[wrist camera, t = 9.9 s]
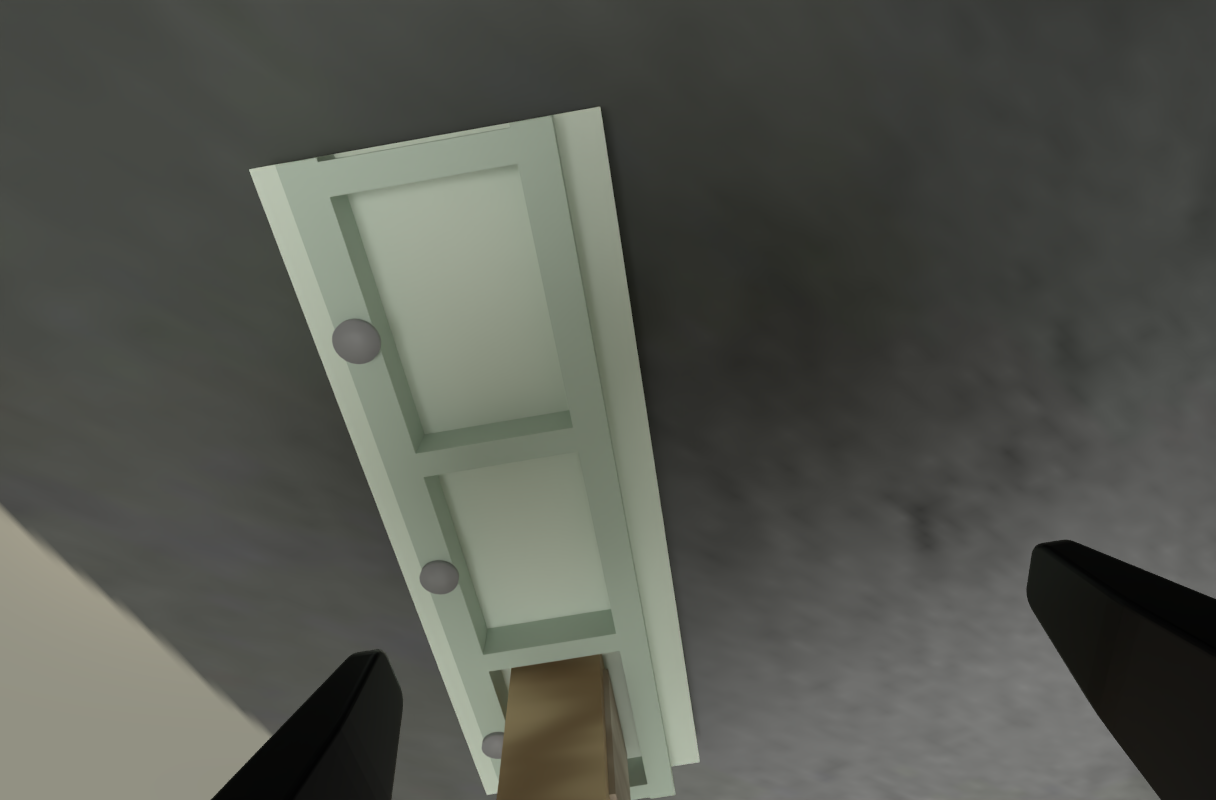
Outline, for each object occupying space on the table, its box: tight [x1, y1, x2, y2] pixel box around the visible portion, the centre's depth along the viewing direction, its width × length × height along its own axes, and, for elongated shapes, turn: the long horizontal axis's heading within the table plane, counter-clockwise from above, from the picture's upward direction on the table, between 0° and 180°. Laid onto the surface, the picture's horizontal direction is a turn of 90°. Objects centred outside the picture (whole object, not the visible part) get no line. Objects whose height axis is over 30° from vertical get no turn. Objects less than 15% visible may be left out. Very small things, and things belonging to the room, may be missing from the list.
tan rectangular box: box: [497, 654, 631, 800], centre depth 22 cm, size 3×6×6 cm, turn 9°
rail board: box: [249, 107, 700, 800], centre depth 21 cm, size 9×25×3 cm, turn 9°
